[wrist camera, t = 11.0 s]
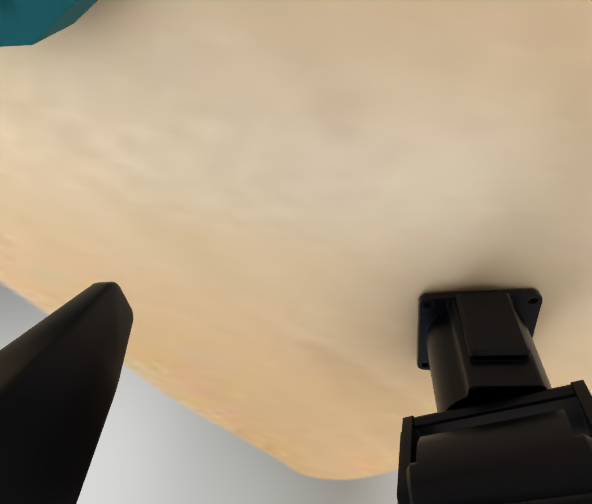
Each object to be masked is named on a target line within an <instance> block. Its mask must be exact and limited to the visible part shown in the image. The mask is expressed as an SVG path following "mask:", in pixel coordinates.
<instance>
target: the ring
mask: <svg viewBox="0 0 592 504" xmlns="http://www.w3.org/2000/svg"><path fill="white" fill-rule="evenodd" d="M96 1H97V0H0V47H3V46H20V45H33V44H35V43H37V42H39V41H41V40H43V39H45V38H47V37H48V36H50V35H52V34H54V33H56V32H58V31H60V30H62V29H64V28H66V27H68V26H69V25H71V24H73V23H74V22H76V21H77V20H78V19H79V18H80V17H81V16H82V15H83V14H84V13H85V12H86V11H87V10H88V9H89V8H90V7H91V6H92V5H93V4H94V3H95V2H96Z"/></svg>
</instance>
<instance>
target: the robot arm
mask: <svg viewBox="0 0 592 504" xmlns="http://www.w3.org/2000/svg"><path fill="white" fill-rule="evenodd" d="M530 298H532V299H530ZM426 302H429V303H426ZM541 304H542V296H541V294H540V292H539V291H537V290H535V289H525V290H501V291H476V292H452V293H428V294H424V295H422V296H421V297H420V298H419V305H418V336H417V365H418V367H419V368H420V369H423V370H430V371H431V377H432V382H433V388H434V394H435V400H436V406H437V413H432V414H428V415H423V416H418V417H414V416H409V417H405V418H403V424H402V432H401V437H400V453H399V469H398V485H397V500H398V503H397V504H592V396H591V394H590V392H589V390H588V388H587V386H586V384H585V382H584V380H580V381H575V382H571V385H566V386H561V387H556V388H552V387H551V385H550V382H549V380H548V377H547V375H546V373H545V370H544V368H543V365H542V363H541V360H540V358H539V355H538V353H537V350H536V348H535V345H534V343H533V340H532V337H533V333H534V329H535V326H536V322H537V318H538V315H539V311H540V307H541ZM132 323H133V312H132V309H131V307H130V305H129V303H128V301H127V299H126V297H125V296H124V294H123V292H122V290H121V288H120V286H119V285H118V284H117V283H115V282H99V283H95V284H93V285H91V286H90V287H88V288H87V289H86V290H84V291H83V292H81V293H80V294H79V295H77V296H76V297H74V298H73V299H72V300H70V301H69V302H67V303H66V304H65V305H63V306H62V307H60V308H59V309H58V310H56V311H55V312H53V313H52V314H51V315H49V316H48V317H46V318H45V319H44V320H42V321H41V322H39V323H38V324H36V325H35V326H34V327H32V328H31V329H29V330H28V331H27V332H25V333H24V334H22V335H21V336H20V337H18V338H17V339H16V340H14V341H13V342H11V343H10V344H8V345H7V346H6V347H4V348H3V349H1V350H0V504H76V502H77V500H78V497H79V495H80V492H81V489H82V486H83V482H84V480H85V478H86V475H87V472H88V469H89V466H90V463H91V460H92V458H93V455H94V452H95V449H96V446H97V444H98V441H99V438H100V435H101V432H102V429H103V427H104V424H105V421H106V418H107V415H108V412H109V409H110V406H111V404H112V401H113V398H114V395H115V392H116V389H117V385H118V382H119V378H120V374H121V369H122V365H123V361H124V357H125V353H126V348H127V344H128V340H129V336H130V332H131V327H132Z"/></svg>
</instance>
